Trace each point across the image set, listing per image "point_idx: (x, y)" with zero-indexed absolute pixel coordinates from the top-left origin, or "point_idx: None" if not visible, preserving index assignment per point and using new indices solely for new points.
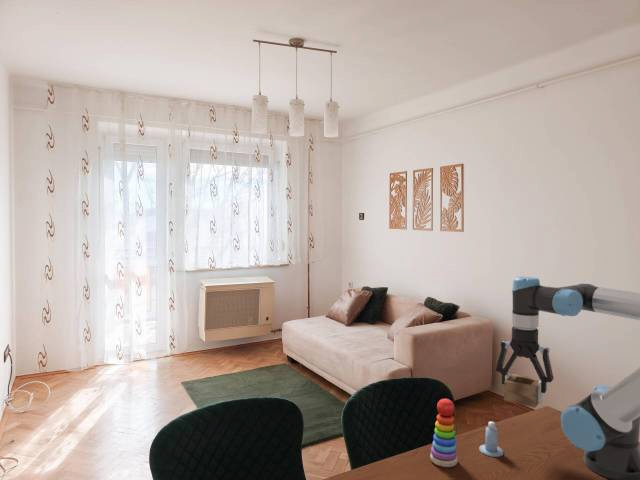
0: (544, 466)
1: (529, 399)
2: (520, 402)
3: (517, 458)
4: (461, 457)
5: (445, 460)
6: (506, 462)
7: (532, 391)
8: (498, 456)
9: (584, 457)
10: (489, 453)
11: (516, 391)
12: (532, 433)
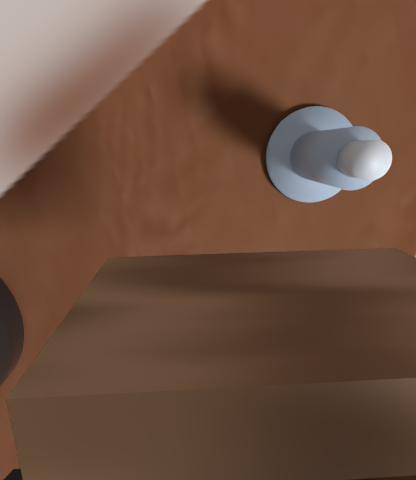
0: (112, 173)
1: (155, 282)
2: (246, 257)
3: (211, 166)
4: (401, 13)
5: None
6: (236, 103)
7: (94, 344)
8: (275, 128)
9: (1, 302)
10: (310, 119)
11: (329, 302)
12: None
